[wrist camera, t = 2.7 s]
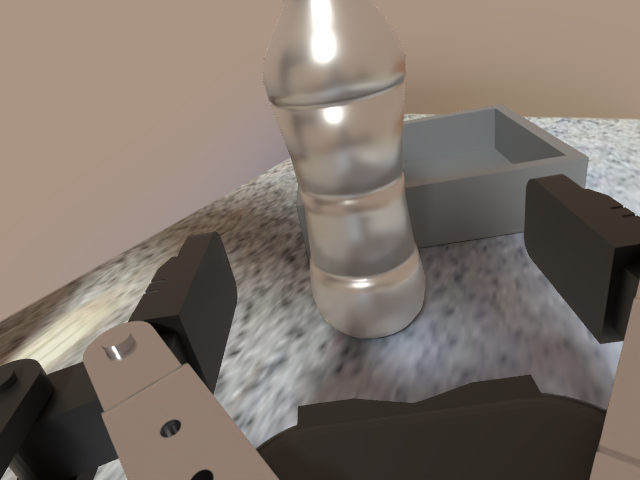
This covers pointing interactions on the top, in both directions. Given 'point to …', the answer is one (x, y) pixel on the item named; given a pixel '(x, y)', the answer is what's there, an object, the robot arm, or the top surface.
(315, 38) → the silver bottle
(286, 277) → the top surface
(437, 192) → the bin
